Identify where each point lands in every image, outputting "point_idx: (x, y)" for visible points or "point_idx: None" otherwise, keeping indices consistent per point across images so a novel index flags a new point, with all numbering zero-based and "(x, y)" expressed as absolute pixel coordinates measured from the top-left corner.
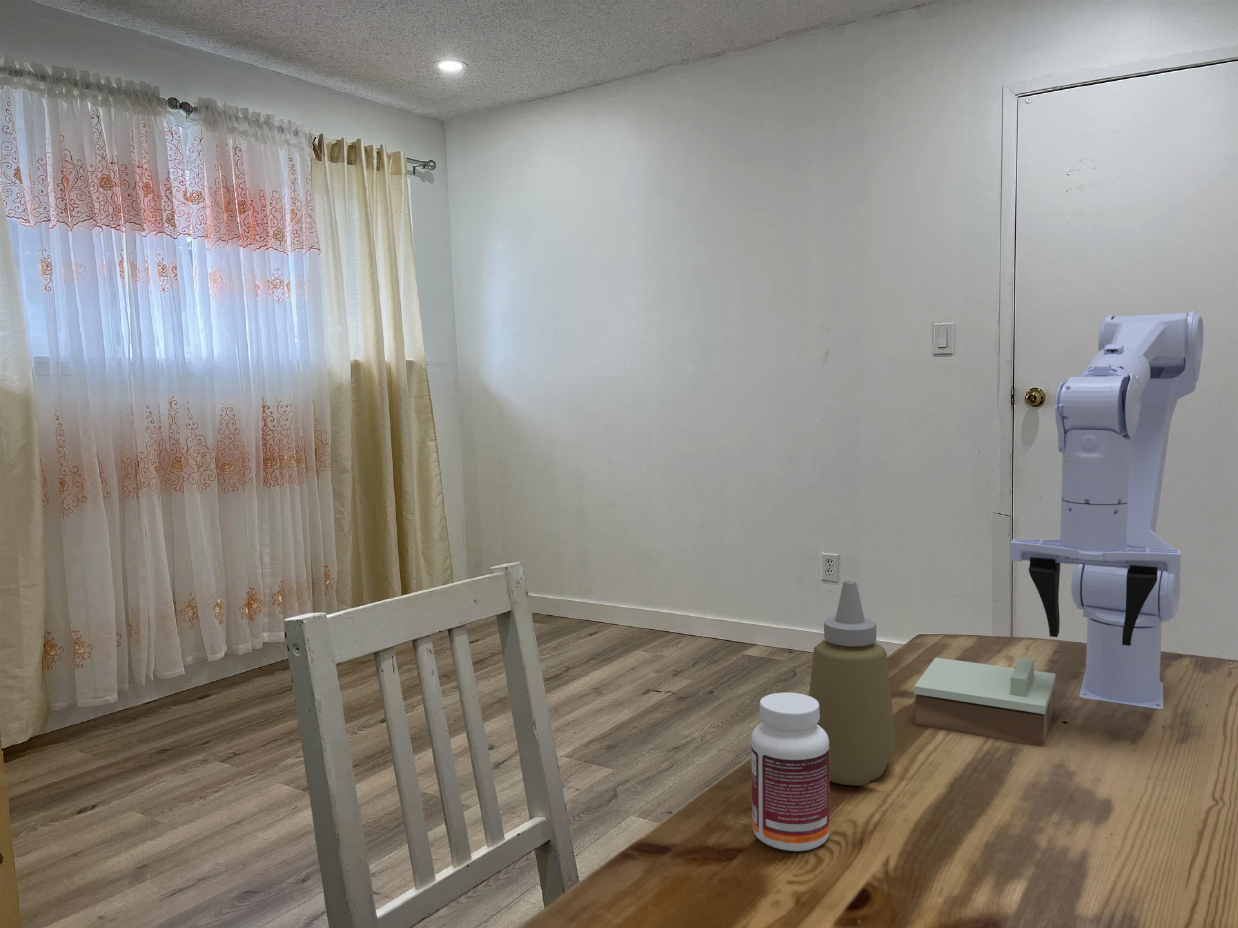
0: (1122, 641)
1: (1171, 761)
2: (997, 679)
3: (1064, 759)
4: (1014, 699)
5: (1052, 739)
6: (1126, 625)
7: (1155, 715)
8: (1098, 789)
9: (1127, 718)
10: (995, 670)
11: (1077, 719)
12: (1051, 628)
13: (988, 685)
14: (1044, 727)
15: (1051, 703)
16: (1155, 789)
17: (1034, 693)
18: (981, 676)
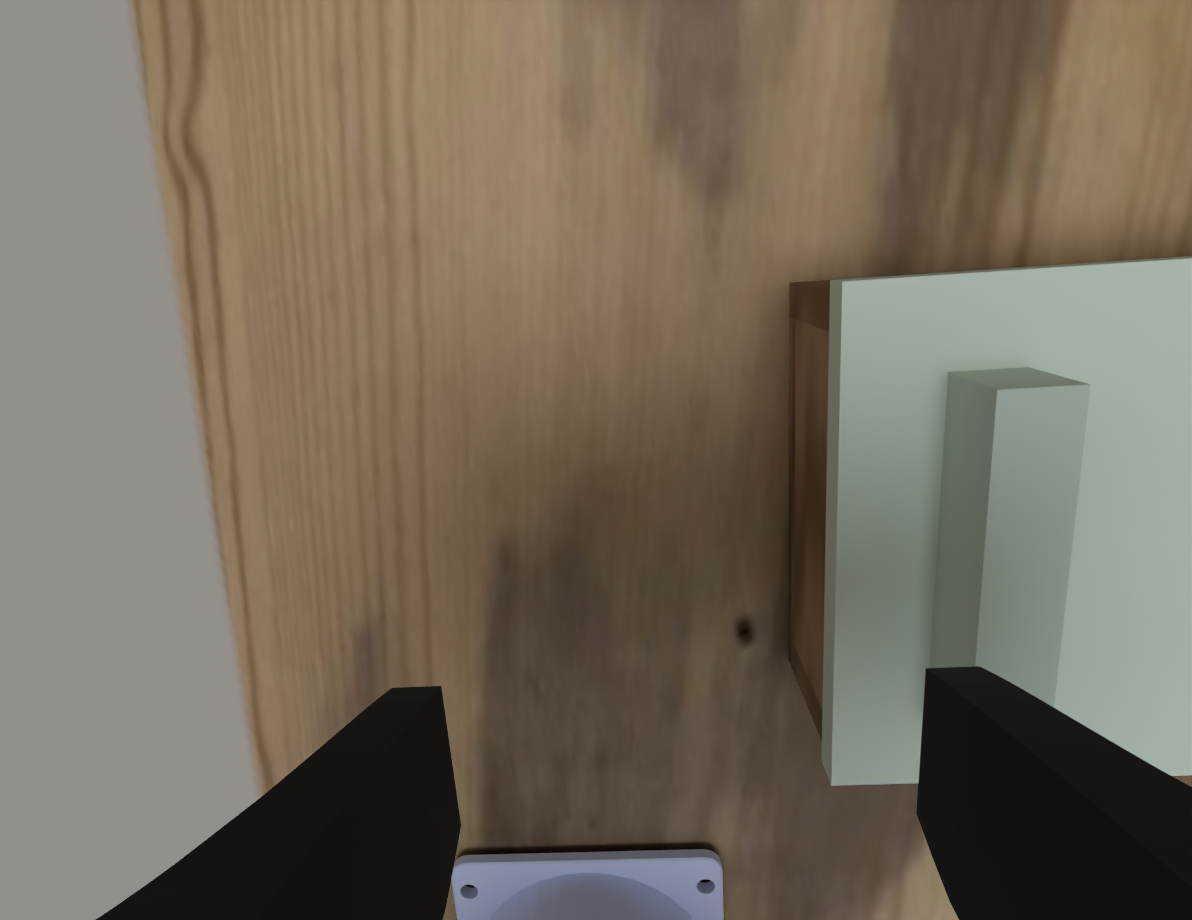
0: (430, 693)
1: (370, 442)
2: (1104, 576)
3: (706, 256)
4: (1002, 302)
5: (769, 438)
6: (346, 770)
7: (473, 830)
8: (556, 13)
9: (551, 764)
10: (1118, 707)
11: (705, 678)
12: (1012, 693)
13: (1149, 459)
14: (811, 331)
15: (809, 620)
16: (378, 140)
17: (907, 454)
18: (1189, 583)
